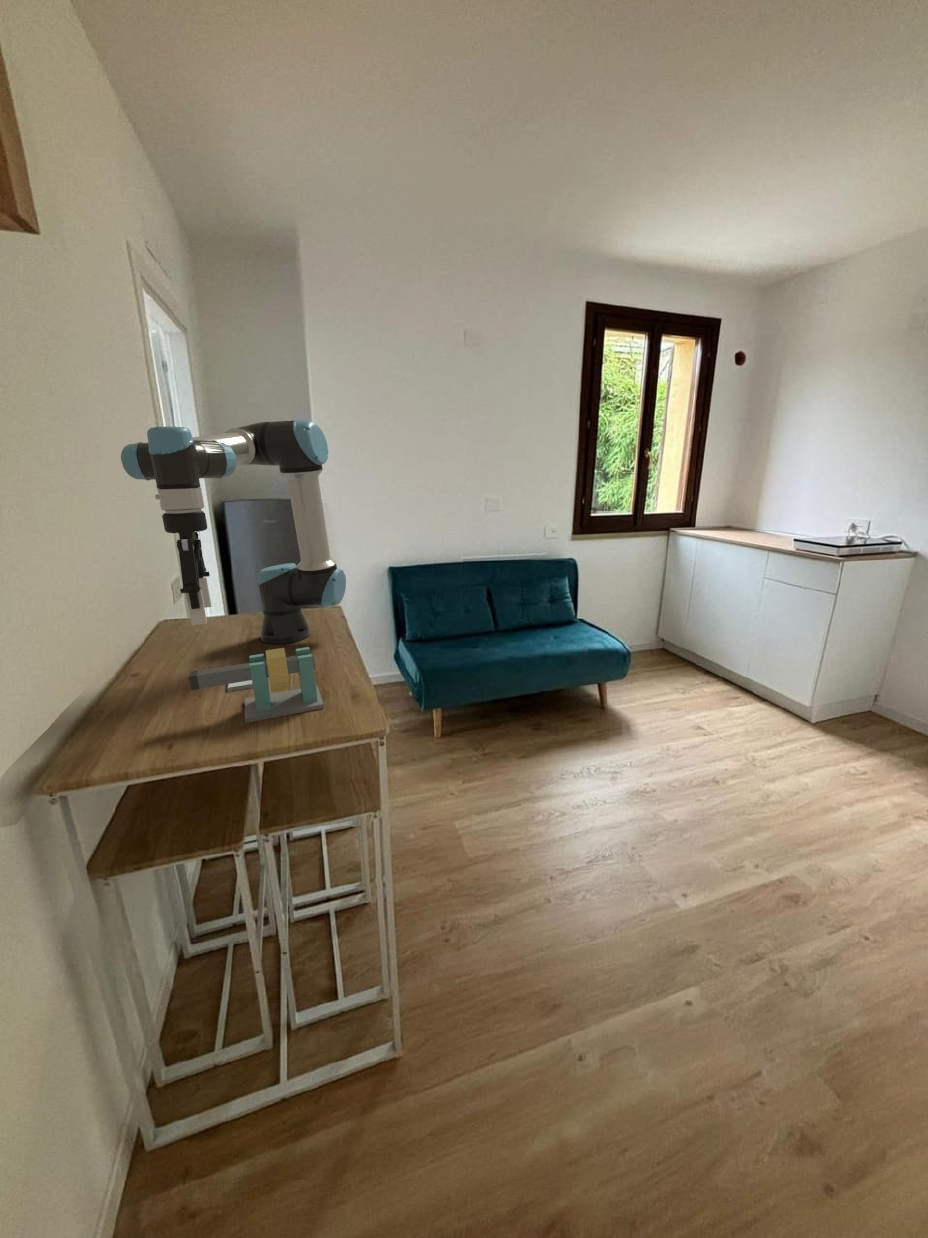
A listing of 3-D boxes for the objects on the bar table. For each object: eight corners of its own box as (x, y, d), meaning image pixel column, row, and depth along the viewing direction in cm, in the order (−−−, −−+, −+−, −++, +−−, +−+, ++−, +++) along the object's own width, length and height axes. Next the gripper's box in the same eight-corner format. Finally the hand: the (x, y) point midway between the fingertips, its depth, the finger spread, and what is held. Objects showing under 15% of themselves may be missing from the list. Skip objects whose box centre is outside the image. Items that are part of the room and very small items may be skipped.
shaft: (192, 684, 111) (190, 671, 110) (314, 665, 120) (312, 652, 119) (191, 690, 108) (188, 676, 107) (315, 669, 117) (314, 657, 116)
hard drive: (262, 682, 128) (261, 664, 139) (227, 688, 125) (229, 669, 136) (263, 688, 129) (262, 670, 140) (228, 694, 126) (230, 675, 137)
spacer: (270, 682, 118) (265, 650, 116) (288, 679, 120) (284, 647, 117) (271, 692, 113) (266, 659, 111) (290, 688, 114) (285, 656, 112)
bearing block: (245, 702, 120) (237, 654, 116) (317, 689, 126) (312, 643, 122) (245, 723, 110) (236, 671, 107) (323, 708, 116) (318, 658, 112)
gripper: (170, 507, 110) (188, 603, 116) (150, 517, 88) (174, 634, 94) (208, 506, 112) (224, 599, 119) (199, 514, 90) (218, 629, 96)
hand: (202, 615), depth 106 cm, fingers open, 13 cm apart
